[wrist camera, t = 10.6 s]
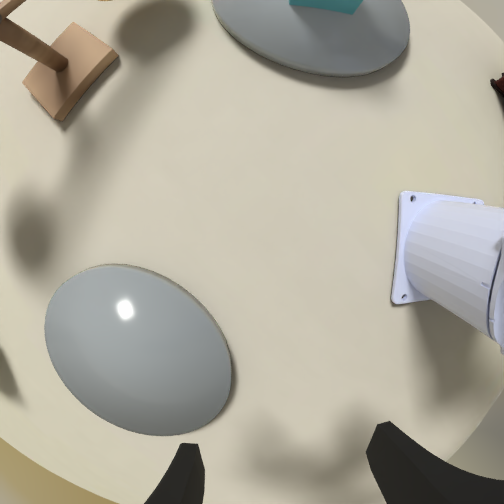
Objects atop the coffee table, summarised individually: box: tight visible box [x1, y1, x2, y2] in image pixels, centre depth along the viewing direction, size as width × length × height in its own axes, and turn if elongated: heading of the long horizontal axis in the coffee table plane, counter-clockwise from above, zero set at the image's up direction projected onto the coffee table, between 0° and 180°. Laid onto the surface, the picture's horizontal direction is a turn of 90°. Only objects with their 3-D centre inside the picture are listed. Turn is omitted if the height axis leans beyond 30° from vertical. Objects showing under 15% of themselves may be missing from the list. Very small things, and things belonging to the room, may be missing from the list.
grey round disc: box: [45, 264, 231, 436], centre depth 18 cm, size 15×15×1 cm
